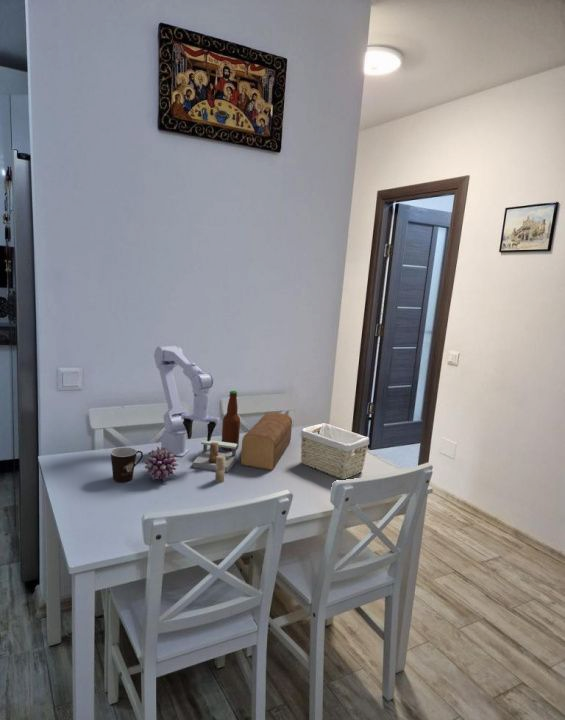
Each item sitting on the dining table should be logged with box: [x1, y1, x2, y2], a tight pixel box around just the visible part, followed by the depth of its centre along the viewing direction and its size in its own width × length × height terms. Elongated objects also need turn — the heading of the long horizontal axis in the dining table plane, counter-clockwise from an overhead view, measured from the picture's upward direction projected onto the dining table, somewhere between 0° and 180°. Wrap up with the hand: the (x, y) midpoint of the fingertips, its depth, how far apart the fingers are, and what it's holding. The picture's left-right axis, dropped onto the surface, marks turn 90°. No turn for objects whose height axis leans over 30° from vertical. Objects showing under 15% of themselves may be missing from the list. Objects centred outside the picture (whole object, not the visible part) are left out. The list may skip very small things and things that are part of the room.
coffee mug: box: [110, 447, 144, 484], centre depth 169 cm, size 12×9×10 cm
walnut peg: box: [209, 442, 220, 464], centre depth 186 cm, size 3×3×9 cm
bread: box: [240, 411, 293, 471], centre depth 203 cm, size 14×34×14 cm, turn 167°
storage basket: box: [300, 422, 370, 480], centre depth 194 cm, size 24×16×15 cm
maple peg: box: [214, 455, 226, 483], centre depth 173 cm, size 3×3×9 cm
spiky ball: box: [143, 446, 179, 481], centre depth 170 cm, size 12×12×12 cm
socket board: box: [192, 439, 239, 473], centre depth 189 cm, size 14×13×7 cm
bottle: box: [221, 390, 241, 451], centre depth 205 cm, size 7×7×25 cm
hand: (199, 439), depth 185 cm, fingers open, 7 cm apart
